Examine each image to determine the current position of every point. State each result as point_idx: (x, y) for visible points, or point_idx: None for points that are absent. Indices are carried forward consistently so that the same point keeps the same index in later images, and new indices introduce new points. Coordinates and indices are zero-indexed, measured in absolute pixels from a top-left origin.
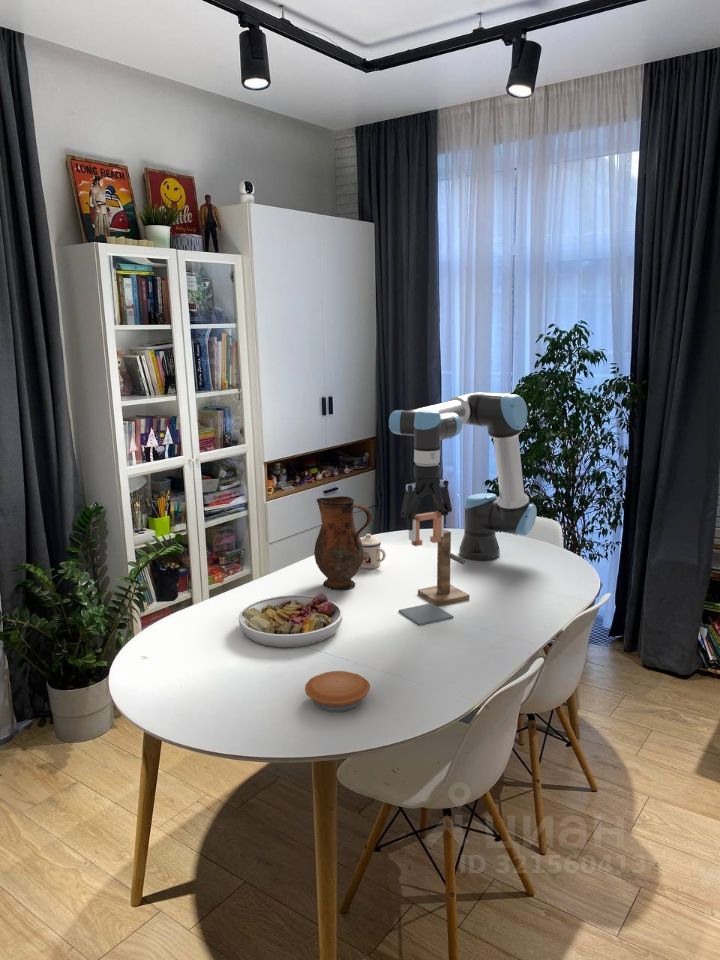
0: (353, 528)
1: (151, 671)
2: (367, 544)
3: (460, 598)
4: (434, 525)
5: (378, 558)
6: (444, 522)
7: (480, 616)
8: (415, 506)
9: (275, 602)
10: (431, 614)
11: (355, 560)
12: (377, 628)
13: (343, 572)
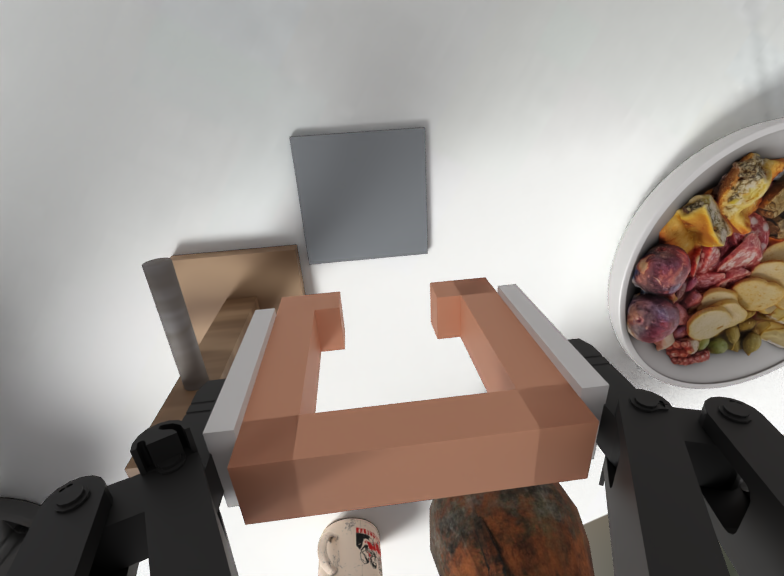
0: None
1: None
2: None
3: (205, 255)
4: (313, 390)
5: (331, 544)
6: (209, 394)
7: (190, 105)
8: (704, 540)
9: (714, 369)
10: (352, 180)
11: None
12: (543, 164)
13: None
